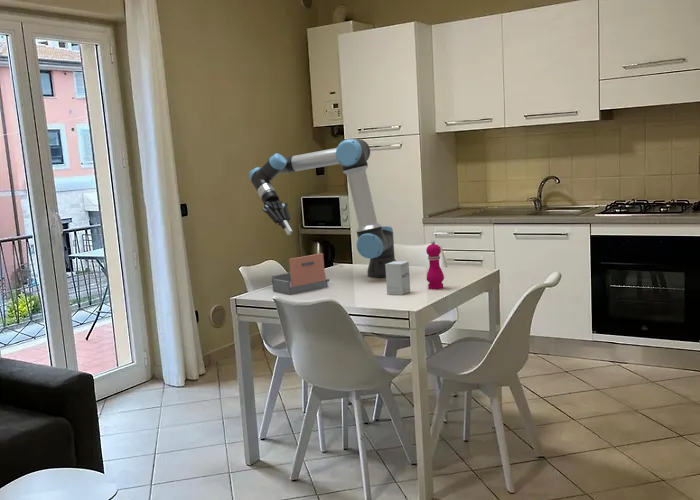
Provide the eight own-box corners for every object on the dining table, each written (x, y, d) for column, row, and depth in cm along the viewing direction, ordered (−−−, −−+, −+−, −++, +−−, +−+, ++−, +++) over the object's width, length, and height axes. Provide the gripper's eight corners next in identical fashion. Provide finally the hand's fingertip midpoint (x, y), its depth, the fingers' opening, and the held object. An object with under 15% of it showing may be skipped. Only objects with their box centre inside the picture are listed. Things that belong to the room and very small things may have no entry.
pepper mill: (446, 286, 293) (443, 238, 290) (442, 289, 286) (439, 241, 284) (429, 286, 295) (426, 239, 293) (425, 290, 289) (422, 241, 286)
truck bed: (271, 291, 311) (270, 276, 310) (310, 283, 324) (309, 268, 323) (290, 295, 299) (288, 279, 298) (329, 286, 312) (328, 271, 311)
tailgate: (291, 286, 301) (289, 258, 300) (323, 280, 311) (321, 253, 310) (293, 286, 300) (291, 259, 298) (326, 280, 310) (323, 253, 308)
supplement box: (402, 295, 282) (400, 264, 280) (386, 294, 286) (384, 263, 284) (411, 291, 288) (409, 261, 287) (395, 290, 292) (393, 260, 291)
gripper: (277, 199, 333) (299, 236, 322) (253, 202, 326) (274, 240, 315) (282, 188, 328) (304, 225, 318) (258, 190, 321) (280, 228, 310)
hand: (289, 232), depth 316 cm, fingers closed
